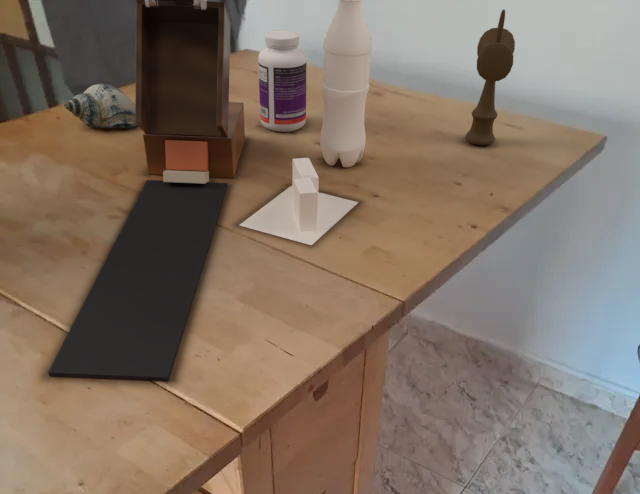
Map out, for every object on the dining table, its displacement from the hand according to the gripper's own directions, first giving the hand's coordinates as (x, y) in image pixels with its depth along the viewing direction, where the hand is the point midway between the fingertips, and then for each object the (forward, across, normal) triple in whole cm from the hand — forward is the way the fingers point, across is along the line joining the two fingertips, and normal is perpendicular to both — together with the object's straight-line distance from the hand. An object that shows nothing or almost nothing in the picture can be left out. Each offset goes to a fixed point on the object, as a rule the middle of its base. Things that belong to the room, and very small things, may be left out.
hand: (176, 7), depth 90 cm
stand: (+22, 0, +7) cm, 23 cm away
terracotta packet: (+19, 0, -2) cm, 19 cm away
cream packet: (+20, 0, -4) cm, 21 cm away
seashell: (+22, -18, +18) cm, 34 cm away
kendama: (+22, +46, +18) cm, 54 cm away
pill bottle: (+22, +12, +22) cm, 33 cm away
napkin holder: (+22, +17, -12) cm, 31 cm away
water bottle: (+22, +23, +7) cm, 33 cm away
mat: (+22, 0, -27) cm, 35 cm away
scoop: (+9, 0, +3) cm, 10 cm away
